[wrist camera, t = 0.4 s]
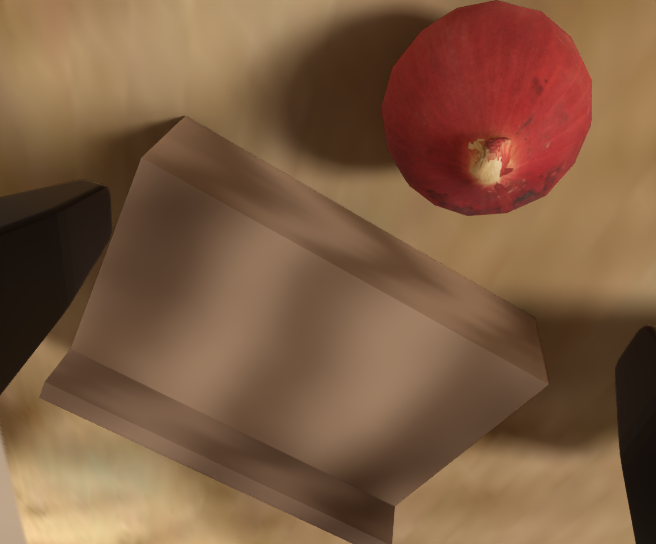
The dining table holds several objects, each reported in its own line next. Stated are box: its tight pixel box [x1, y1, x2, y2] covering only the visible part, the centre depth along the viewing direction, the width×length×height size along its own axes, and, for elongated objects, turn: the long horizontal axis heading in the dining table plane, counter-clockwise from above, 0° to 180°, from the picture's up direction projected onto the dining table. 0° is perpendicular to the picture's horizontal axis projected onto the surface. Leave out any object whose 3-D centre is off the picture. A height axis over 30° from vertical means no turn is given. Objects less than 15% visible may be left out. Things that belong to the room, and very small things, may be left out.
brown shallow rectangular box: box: [39, 116, 549, 544], centre depth 24 cm, size 17×12×6 cm
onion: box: [382, 0, 592, 216], centre depth 16 cm, size 6×6×8 cm
